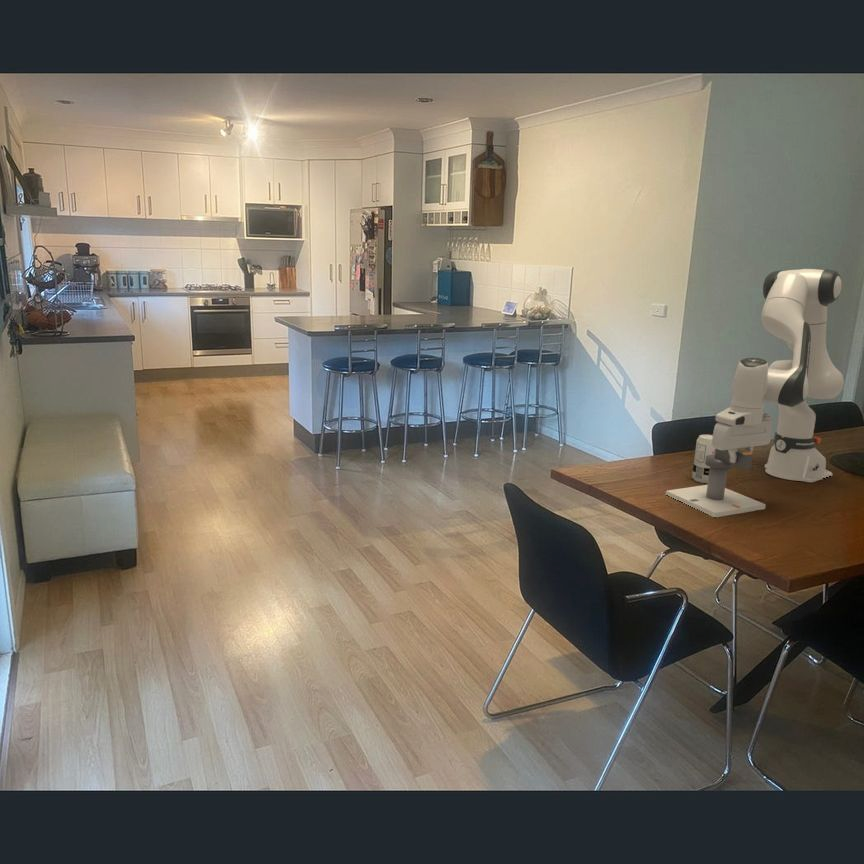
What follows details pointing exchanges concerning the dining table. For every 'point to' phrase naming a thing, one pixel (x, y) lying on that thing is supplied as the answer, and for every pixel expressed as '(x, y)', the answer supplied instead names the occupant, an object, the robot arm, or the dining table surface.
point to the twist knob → (723, 459)
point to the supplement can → (702, 458)
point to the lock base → (715, 504)
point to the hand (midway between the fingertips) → (739, 461)
